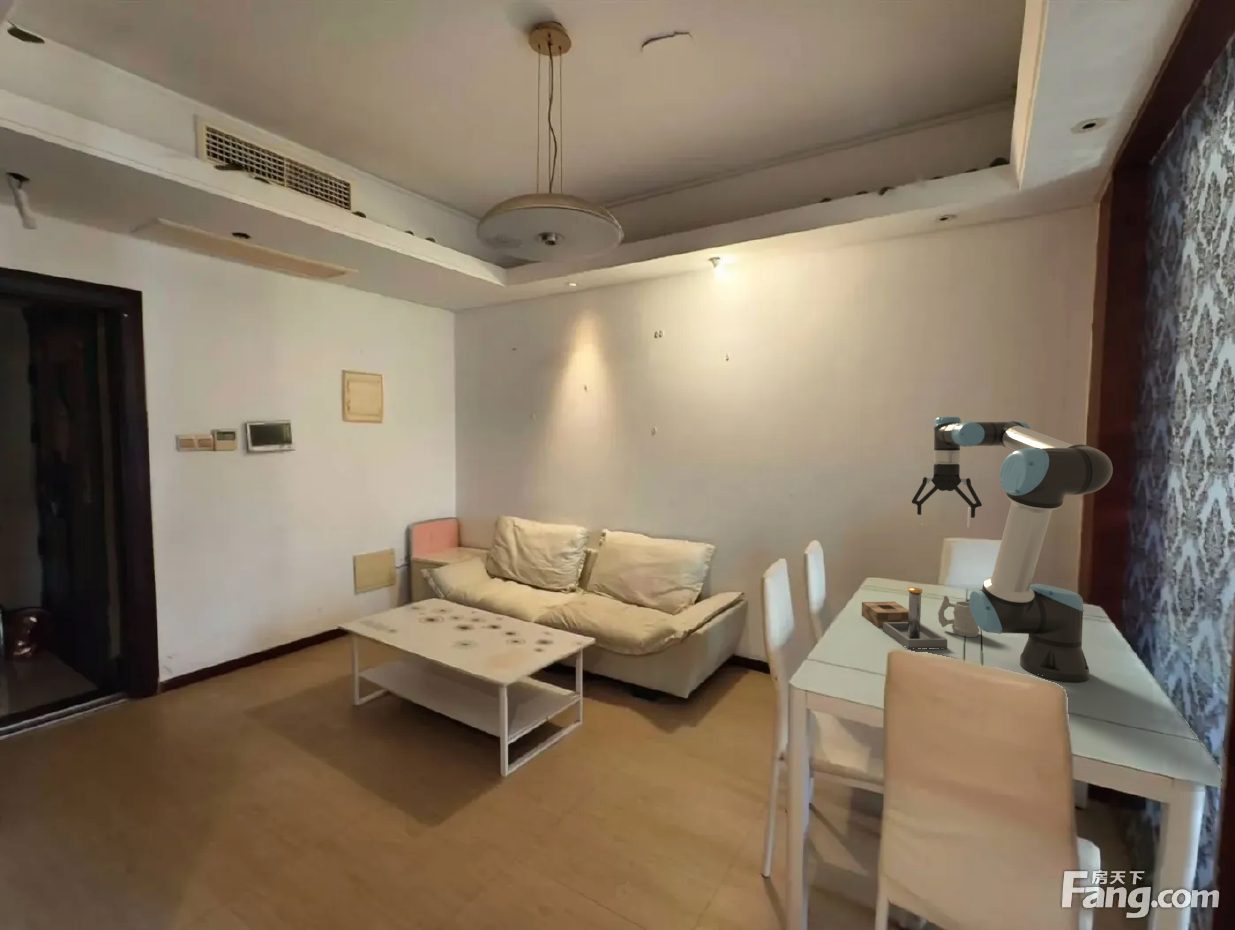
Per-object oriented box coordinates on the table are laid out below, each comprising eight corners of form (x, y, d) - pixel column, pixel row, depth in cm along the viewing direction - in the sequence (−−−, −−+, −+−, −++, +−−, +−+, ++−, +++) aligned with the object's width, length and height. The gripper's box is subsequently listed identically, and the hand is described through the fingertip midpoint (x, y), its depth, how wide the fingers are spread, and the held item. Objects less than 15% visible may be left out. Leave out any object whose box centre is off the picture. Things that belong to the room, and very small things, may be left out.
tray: (947, 649, 170) (947, 639, 170) (908, 649, 170) (908, 640, 170) (918, 630, 186) (918, 621, 186) (882, 631, 186) (883, 622, 186)
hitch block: (912, 626, 190) (912, 612, 190) (877, 627, 190) (877, 612, 190) (894, 615, 202) (894, 601, 202) (861, 615, 202) (861, 602, 202)
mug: (980, 639, 178) (981, 602, 177) (937, 633, 184) (938, 597, 183) (977, 631, 185) (978, 596, 184) (936, 626, 190) (937, 591, 190)
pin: (921, 636, 179) (922, 588, 178) (920, 640, 175) (922, 591, 174) (907, 634, 181) (908, 586, 180) (906, 638, 177) (907, 590, 176)
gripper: (990, 463, 183) (988, 526, 184) (905, 461, 195) (904, 521, 197) (992, 464, 177) (990, 530, 178) (904, 463, 189) (903, 524, 190)
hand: (945, 526), depth 187 cm, fingers open, 13 cm apart
